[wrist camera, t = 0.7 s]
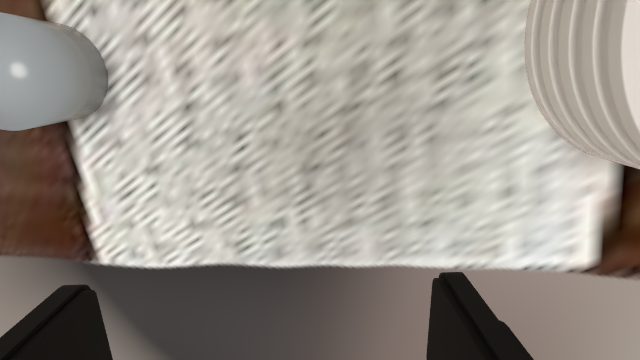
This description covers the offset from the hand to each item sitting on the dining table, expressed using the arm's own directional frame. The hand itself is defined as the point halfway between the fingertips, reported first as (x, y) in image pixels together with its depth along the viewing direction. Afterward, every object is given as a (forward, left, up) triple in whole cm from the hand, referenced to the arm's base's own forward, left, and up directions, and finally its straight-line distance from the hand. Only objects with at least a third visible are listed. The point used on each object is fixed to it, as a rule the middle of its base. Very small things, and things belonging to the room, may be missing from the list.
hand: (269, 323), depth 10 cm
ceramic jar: (-7, -23, -28) cm, 37 cm away
